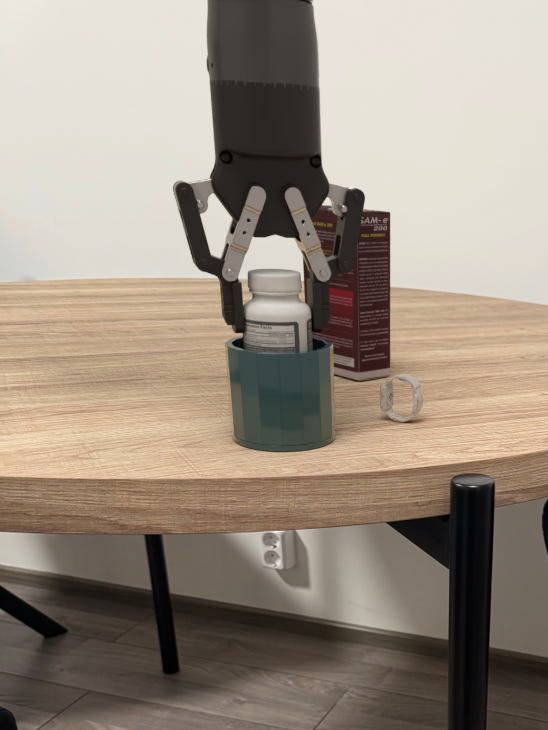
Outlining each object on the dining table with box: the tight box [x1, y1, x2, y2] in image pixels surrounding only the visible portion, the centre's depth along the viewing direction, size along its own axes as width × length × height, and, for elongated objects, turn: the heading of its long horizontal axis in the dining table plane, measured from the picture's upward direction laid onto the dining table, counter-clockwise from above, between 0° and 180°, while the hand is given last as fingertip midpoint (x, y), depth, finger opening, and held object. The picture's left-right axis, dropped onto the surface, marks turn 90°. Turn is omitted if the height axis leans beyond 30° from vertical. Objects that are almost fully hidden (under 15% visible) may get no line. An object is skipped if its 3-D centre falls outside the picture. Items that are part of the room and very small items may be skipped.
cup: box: [224, 335, 336, 452], centre depth 76 cm, size 8×8×8 cm
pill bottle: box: [242, 268, 313, 353], centre depth 74 cm, size 5×5×10 cm
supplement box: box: [302, 204, 391, 382], centre depth 96 cm, size 9×5×16 cm, turn 48°
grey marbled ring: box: [379, 373, 425, 423], centre depth 83 cm, size 4×2×4 cm, turn 73°
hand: (277, 330), depth 73 cm, fingers closed on pill bottle, 5 cm apart
